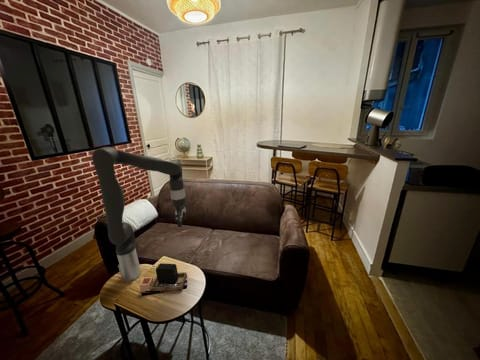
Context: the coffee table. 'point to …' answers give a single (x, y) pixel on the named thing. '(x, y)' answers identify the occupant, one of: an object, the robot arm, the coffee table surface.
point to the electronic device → (167, 273)
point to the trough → (180, 279)
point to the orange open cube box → (146, 284)
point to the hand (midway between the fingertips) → (182, 222)
